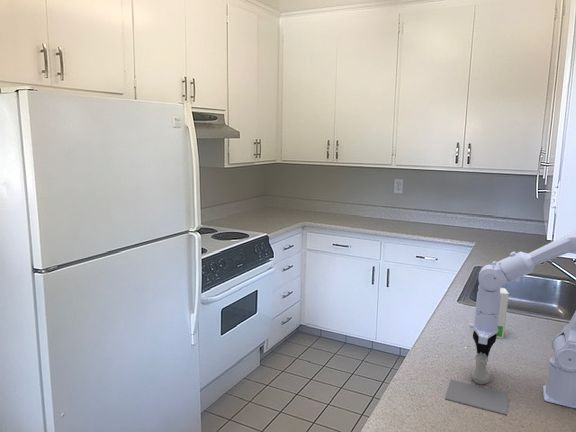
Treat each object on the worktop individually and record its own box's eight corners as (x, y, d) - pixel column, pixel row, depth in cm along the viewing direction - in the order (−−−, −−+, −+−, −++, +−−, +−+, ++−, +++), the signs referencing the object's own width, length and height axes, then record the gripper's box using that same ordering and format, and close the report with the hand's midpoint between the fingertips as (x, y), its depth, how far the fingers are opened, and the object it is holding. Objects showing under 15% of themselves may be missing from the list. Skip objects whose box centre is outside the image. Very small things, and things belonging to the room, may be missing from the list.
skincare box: (477, 336, 154) (481, 290, 152) (474, 328, 161) (478, 284, 158) (504, 339, 152) (509, 293, 150) (500, 331, 159) (505, 286, 156)
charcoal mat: (508, 394, 119) (508, 393, 119) (506, 415, 110) (507, 414, 110) (450, 380, 126) (450, 379, 126) (444, 399, 116) (444, 398, 116)
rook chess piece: (467, 376, 127) (468, 353, 123) (481, 370, 128) (482, 347, 125) (479, 387, 123) (480, 364, 119) (493, 381, 124) (494, 358, 121)
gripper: (473, 299, 131) (469, 345, 133) (467, 317, 118) (463, 367, 120) (501, 304, 128) (496, 351, 130) (498, 322, 115) (492, 374, 117)
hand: (482, 359), depth 125 cm, fingers closed
